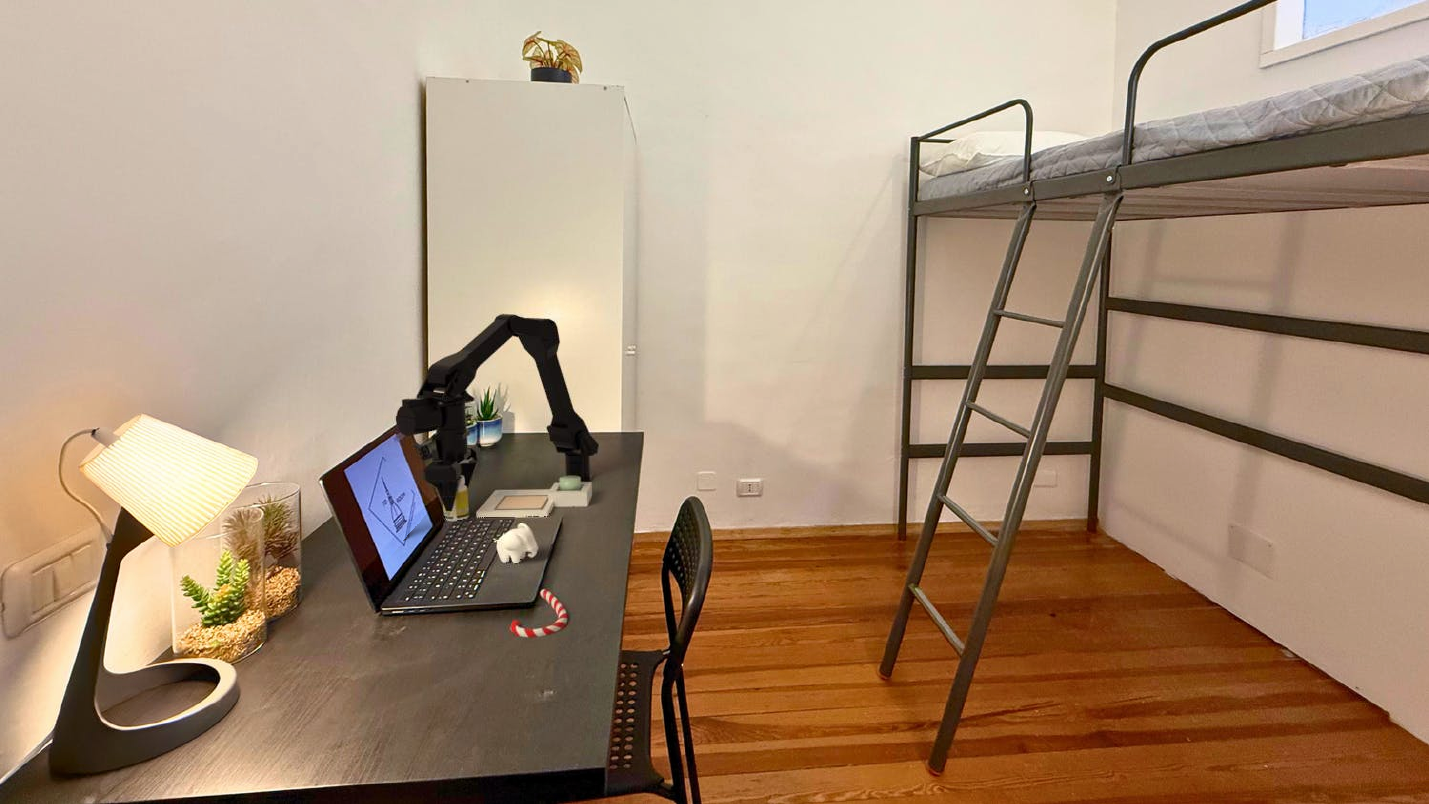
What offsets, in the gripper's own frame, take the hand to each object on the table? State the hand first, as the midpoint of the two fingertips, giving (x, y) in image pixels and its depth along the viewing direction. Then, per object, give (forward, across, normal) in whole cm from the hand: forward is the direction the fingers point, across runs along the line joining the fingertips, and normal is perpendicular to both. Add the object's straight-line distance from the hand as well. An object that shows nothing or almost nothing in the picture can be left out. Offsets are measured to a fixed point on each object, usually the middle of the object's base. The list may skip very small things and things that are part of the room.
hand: (455, 504), depth 161 cm
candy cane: (+4, +46, +25) cm, 52 cm away
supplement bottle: (+3, 0, 0) cm, 3 cm away
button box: (+3, -11, +21) cm, 24 cm away
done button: (0, -11, +21) cm, 24 cm away
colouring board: (+3, -8, +11) cm, 14 cm away
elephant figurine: (+3, +24, +17) cm, 30 cm away
